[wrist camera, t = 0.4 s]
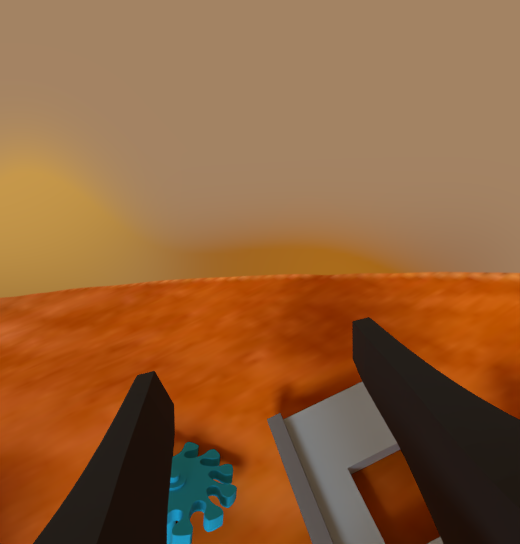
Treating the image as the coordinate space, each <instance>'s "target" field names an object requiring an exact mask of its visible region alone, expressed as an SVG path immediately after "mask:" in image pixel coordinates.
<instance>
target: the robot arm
mask: <svg viewBox="0 0 520 544" xmlns="http://www.w3.org/2000/svg"><path fill="white" fill-rule="evenodd" d="M353 360H354V363H355V365H356V367H357V370H358V372H359V375H360V377H361V379H362V381H363V384H364V386H365V387H366V389H367V391H368V393H369V395H370V396H371V398H372V400H373V402H374V403H375V405H376V407H377V409H378V410H379V412H380V414H381V416H382V417H383V419H384V421H385V423H386V424H387V426H388V428H389V430H390V431H391V433H392V435H393V437H394V438H395V440H396V442H397V444H398V445H399V447H400V449H401V451H402V453H403V455H404V457H405V459H406V461H407V463H408V465H409V467H410V470H411V472H412V474H413V476H414V478H415V480H416V483H417V485H418V487H419V489H420V491H421V494H422V496H423V498H424V500H425V503H426V505H427V507H428V509H429V511H430V514H431V516H432V518H433V520H434V523H435V525H436V527H437V530H438V532H439V534H440V537H441V539H442V542H443V544H520V420H519V419H517V418H515V417H513V416H511V415H509V414H508V413H506V412H504V411H502V410H500V409H499V408H497V407H495V406H493V405H492V404H490V403H488V402H486V401H485V400H483V399H481V398H480V397H478V396H476V395H475V394H473V393H471V392H470V391H468V390H466V389H465V388H463V387H462V386H460V385H459V384H457V383H455V382H454V381H452V380H451V379H449V378H448V377H446V376H445V375H444V374H442V373H441V372H439V371H438V370H436V369H435V368H433V367H432V366H431V365H429V364H428V363H426V362H425V361H424V360H422V359H421V358H420V357H418V356H417V355H416V354H414V353H413V352H412V351H410V350H409V349H408V348H406V347H405V346H404V345H403V344H401V343H400V342H399V341H398V340H396V339H395V338H394V337H393V336H391V335H390V334H389V333H388V332H386V331H385V330H384V329H383V328H382V327H380V326H379V325H378V324H377V323H376V322H375V321H373V320H372V319H371V318H369V317H368V318H364V319H360V320H356V321H353ZM174 435H175V425H174V404H173V402H172V400H171V399H170V397H169V395H168V393H167V392H166V390H165V388H164V386H163V385H162V383H161V381H160V380H159V378H158V376H157V374H156V373H155V371H153V372H149V373H145V374H141V375H137V377H136V378H135V380H134V382H133V384H132V386H131V388H130V390H129V392H128V394H127V396H126V397H125V399H124V401H123V403H122V405H121V407H120V409H119V411H118V413H117V415H116V416H115V418H114V420H113V422H112V424H111V425H110V427H109V429H108V431H107V433H106V434H105V436H104V438H103V440H102V442H101V443H100V445H99V447H98V448H97V450H96V452H95V453H94V455H93V457H92V458H91V460H90V462H89V463H88V465H87V467H86V468H85V470H84V471H83V473H82V475H81V476H80V478H79V479H78V481H77V482H76V484H75V486H74V487H73V489H72V490H71V492H70V493H69V495H68V496H67V497H66V499H65V500H64V502H63V503H62V505H61V506H60V508H59V509H58V510H57V512H56V513H55V515H54V516H53V517H52V519H51V520H50V522H49V523H48V524H47V526H46V527H45V528H44V530H43V531H42V532H41V534H40V535H39V536H38V538H37V539H36V540H35V542H34V543H33V544H167V514H168V500H169V490H170V479H171V469H172V458H173V447H174Z"/></svg>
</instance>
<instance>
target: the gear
mask: <svg viewBox="0 0 520 544" xmlns="http://www.w3.org/2000/svg"><path fill="white" fill-rule="evenodd" d="M198 449H199V445H197V444H195V443H192V442H187V443H186V444H185V445H184V448H183V450H182V451H181V452H180V453H179V454H177V455H175V456H173V458H172V469H171V479H170V490H169V500H168V514H167V544H191V543H192V532H193V527H192V524H191V523H190V518H191V515H192V514H193V513H194V512H196V511H202V512H203V513H204V523H203V526H204V529H205V530H206V531H207V532H210V531H213V530H215V529H217V528H219V527H220V526H222V523H223V510H222V509H221V508H220V507H218V506H216V505H215V504H213V503H212V502H211V501H210V499H209V498H208V496H212V495H213V496H216V497H218V499H219V501H220V504H221V505H222V506H223V507H226V508H229V507H230V506H231V505H232V504H233V503H234V501H235V499H236V491H237V488H236V486H234V485H231V483H232V476H233V467H232V465H231V464H224V465H222V466H219V464H220V454H219V453H218V452H217V451H216V450H215V449H211V450H209V451H207V452H206V453H205V454H203V455H201V456H199V457H197V456H198ZM213 479H216V480H218V481H220V482H221V483H218V482H216V481H214V480H213ZM222 483H223V484H222ZM176 521H179V522H177V523H176Z"/></svg>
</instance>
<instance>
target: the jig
mask: <svg viewBox="0 0 520 544" xmlns="http://www.w3.org/2000/svg"><path fill="white" fill-rule="evenodd" d="M267 421H268V423H269V426H270V429H271V432H272V434H273V437H274V440H275V443H276V445H277V448H278V451H279V454H280V456H281V459H282V462H283V464H284V467H285V470H286V473H287V475H288V478H289V481H290V484H291V486H292V489H293V492H294V494H295V497H296V500H297V503H298V505H299V508H300V511H301V514H302V516H303V519H304V522H305V525H306V527H307V530H308V533H309V535H310V538H311V541H312V544H385V542H384V540H383V538H382V536H381V534H380V532H379V530H378V528H377V526H376V524H375V522H374V520H373V518H372V516H371V514H370V512H369V510H368V508H367V506H366V504H365V502H364V500H363V498H362V496H361V494H360V492H359V490H358V488H357V486H356V484H355V482H354V480H353V478H352V476H351V474H353V473H355V472H357V471H359V470H361V469H363V468H365V467H367V466H369V465H371V464H373V463H375V462H377V461H379V460H380V459H382V458H384V457H386V456H388V455H390V454H392V453H394V452H396V451H398V450H400V447H399V445H398V444H397V442H396V440H395V438H394V437H393V435H392V433H391V431H390V430H389V428H388V426H387V424H386V423H385V421H384V419H383V417H382V416H381V414H380V412H379V410H378V409H377V407H376V405H375V403H374V402H373V400H372V398H371V396H370V395H369V393H368V391H367V389H366V387H365V386H364V384H363V381H362V382H360V383H358V384H356V385H354V386H352V387H350V388H348V389H346V390H344V391H342V392H339V393H337V394H335V395H333V396H331V397H329V398H327V399H325V400H323V401H321V402H319V403H317V404H315V405H313V406H310V407H308V408H306V409H304V410H302V411H300V412H298V413H296V414H294V415H292V416H290V417H288V418H286V419H284V420H283V418H282V416H281V414H280V413H279V414H277V415H275V416H273V417H271V418H269V419H267ZM427 544H443V542H442V539H441V537H439V538H437V539H435V540H433V541H431V542H429V543H427Z"/></svg>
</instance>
